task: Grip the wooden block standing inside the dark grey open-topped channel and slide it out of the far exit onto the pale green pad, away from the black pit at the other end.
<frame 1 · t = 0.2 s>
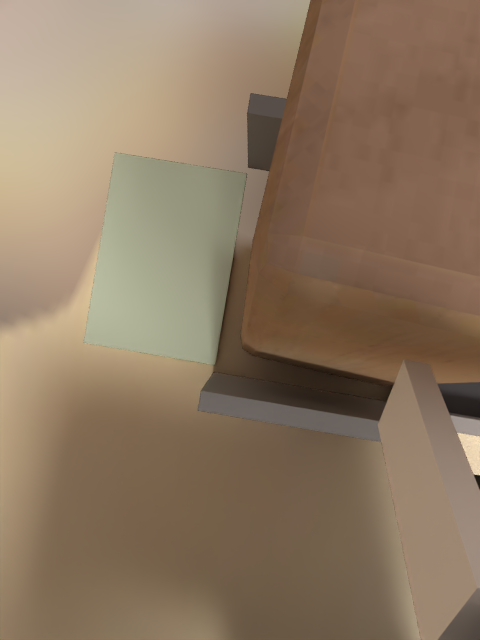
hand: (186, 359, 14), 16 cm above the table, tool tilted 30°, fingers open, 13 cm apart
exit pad: (165, 259, 30), on the table
channel: (318, 284, 30), on the table
wooden block: (328, 296, 30), point 1 cm above the table
pit trap: (467, 308, 30), on the table
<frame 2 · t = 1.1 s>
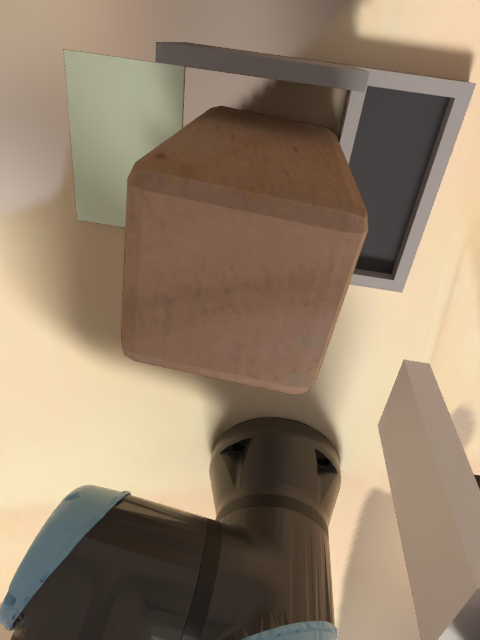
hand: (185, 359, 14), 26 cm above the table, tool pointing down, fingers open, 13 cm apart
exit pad: (126, 150, 36), on the table
channel: (254, 169, 36), on the table
wooden block: (261, 180, 37), on the table
pit trap: (379, 187, 36), on the table
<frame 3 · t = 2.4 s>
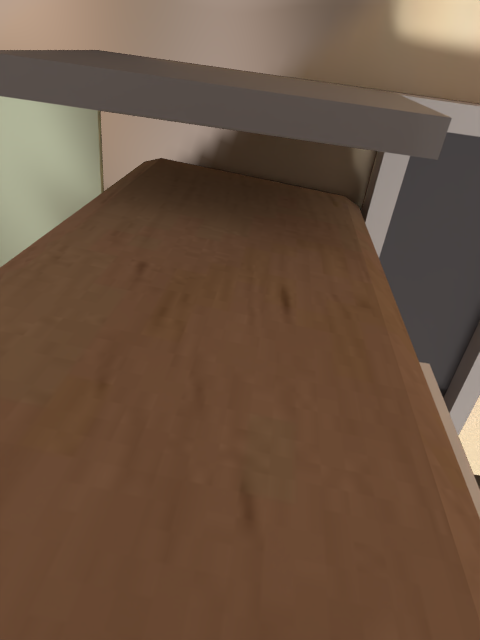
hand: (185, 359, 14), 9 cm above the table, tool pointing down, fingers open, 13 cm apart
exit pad: (17, 222, 23), on the table
channel: (224, 254, 22), on the table
wooden block: (236, 269, 23), on the table
pit trap: (426, 285, 22), on the table
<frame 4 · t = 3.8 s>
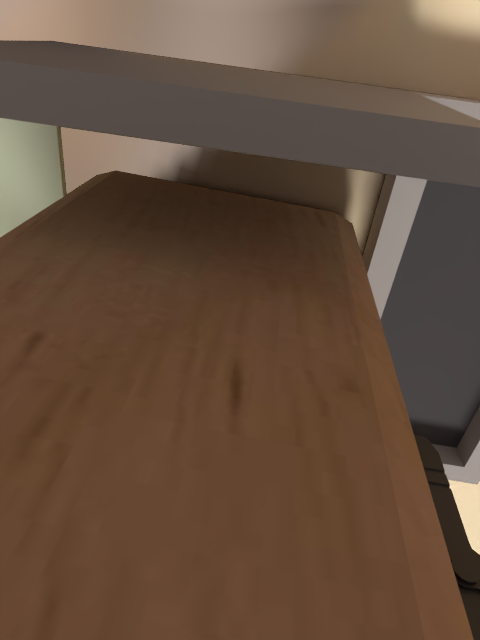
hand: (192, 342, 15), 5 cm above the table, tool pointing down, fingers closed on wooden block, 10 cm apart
channel: (209, 279, 19), on the table
wooden block: (213, 295, 20), on the table, touching gripper
pit trap: (444, 315, 19), on the table
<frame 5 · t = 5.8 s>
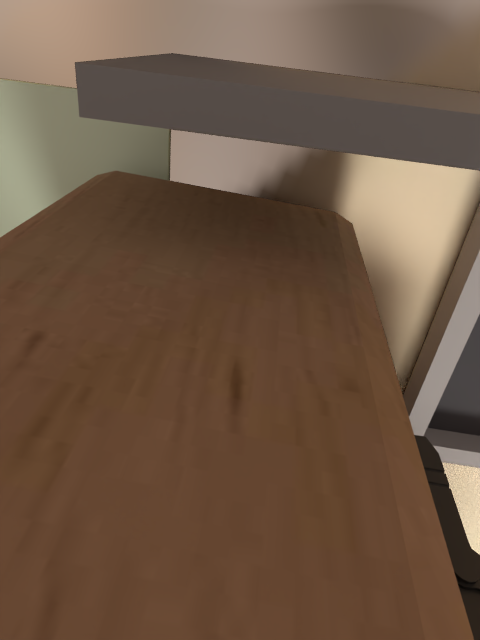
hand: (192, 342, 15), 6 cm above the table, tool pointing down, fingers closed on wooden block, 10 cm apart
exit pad: (69, 247, 20), on the table
channel: (302, 281, 20), on the table
wooden block: (213, 295, 20), point 1 cm above the table, touching gripper
when the fingers open (6 cm above the table, at t = 8.1 s): wooden block stays where it is, resting on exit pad.
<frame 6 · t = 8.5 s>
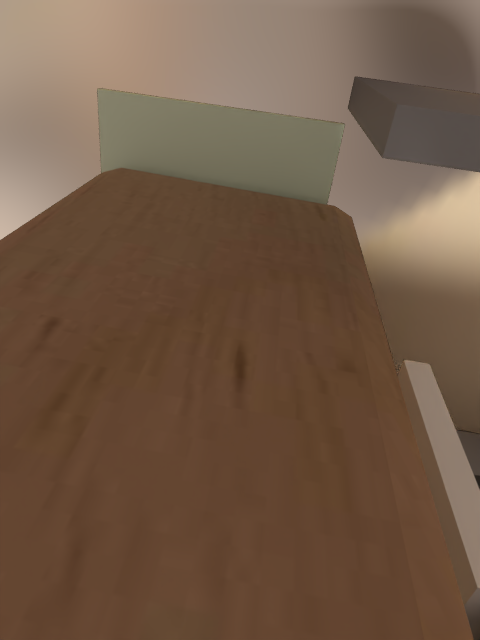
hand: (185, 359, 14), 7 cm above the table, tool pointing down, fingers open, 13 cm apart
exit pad: (207, 266, 20), on the table
channel: (446, 304, 19), on the table
wooden block: (216, 289, 20), resting on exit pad
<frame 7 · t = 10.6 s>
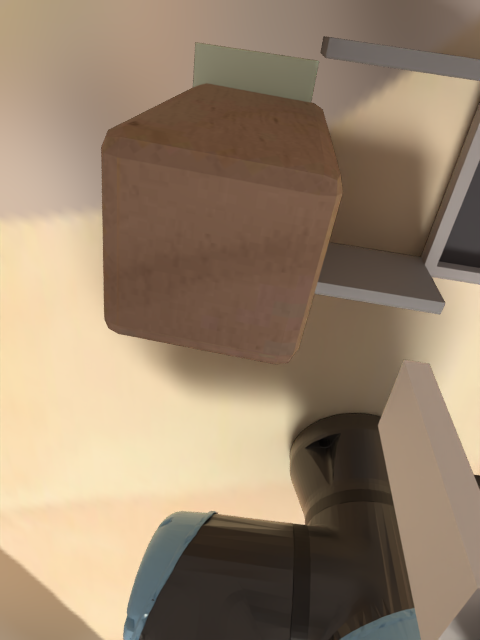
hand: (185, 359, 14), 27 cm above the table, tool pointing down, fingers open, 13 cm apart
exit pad: (245, 145, 36), on the table
channel: (375, 165, 36), on the table
wooden block: (250, 159, 37), resting on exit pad
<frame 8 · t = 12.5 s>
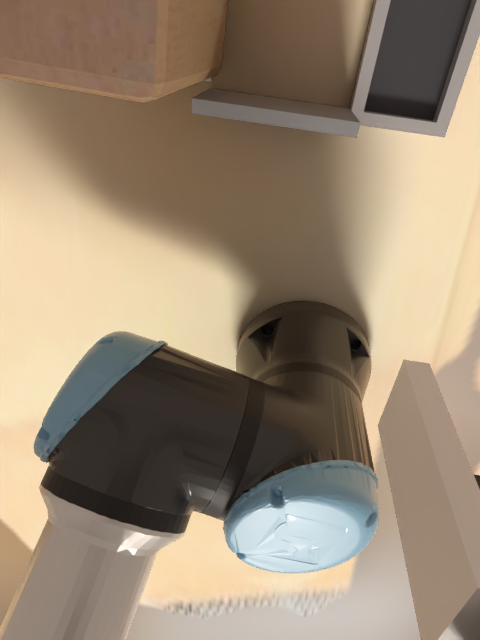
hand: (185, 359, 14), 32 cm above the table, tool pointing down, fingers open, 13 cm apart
pit trap: (424, 15, 34), on the table
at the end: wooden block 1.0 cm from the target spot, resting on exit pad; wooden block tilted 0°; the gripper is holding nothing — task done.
